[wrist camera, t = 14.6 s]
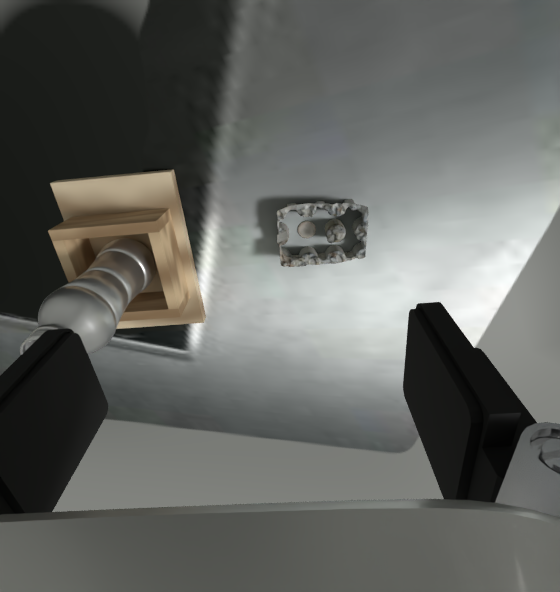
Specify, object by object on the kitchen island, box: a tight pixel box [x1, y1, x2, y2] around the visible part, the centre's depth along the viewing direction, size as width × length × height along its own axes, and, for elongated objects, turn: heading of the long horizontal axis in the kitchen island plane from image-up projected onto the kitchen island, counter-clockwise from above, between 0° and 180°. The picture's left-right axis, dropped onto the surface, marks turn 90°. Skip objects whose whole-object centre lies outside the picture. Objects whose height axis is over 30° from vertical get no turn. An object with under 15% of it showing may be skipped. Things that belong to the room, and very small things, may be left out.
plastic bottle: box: [20, 238, 156, 355], centre depth 38 cm, size 6×7×20 cm
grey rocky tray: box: [277, 199, 368, 267], centre depth 45 cm, size 11×8×4 cm
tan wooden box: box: [48, 169, 206, 329], centre depth 46 cm, size 20×14×6 cm
